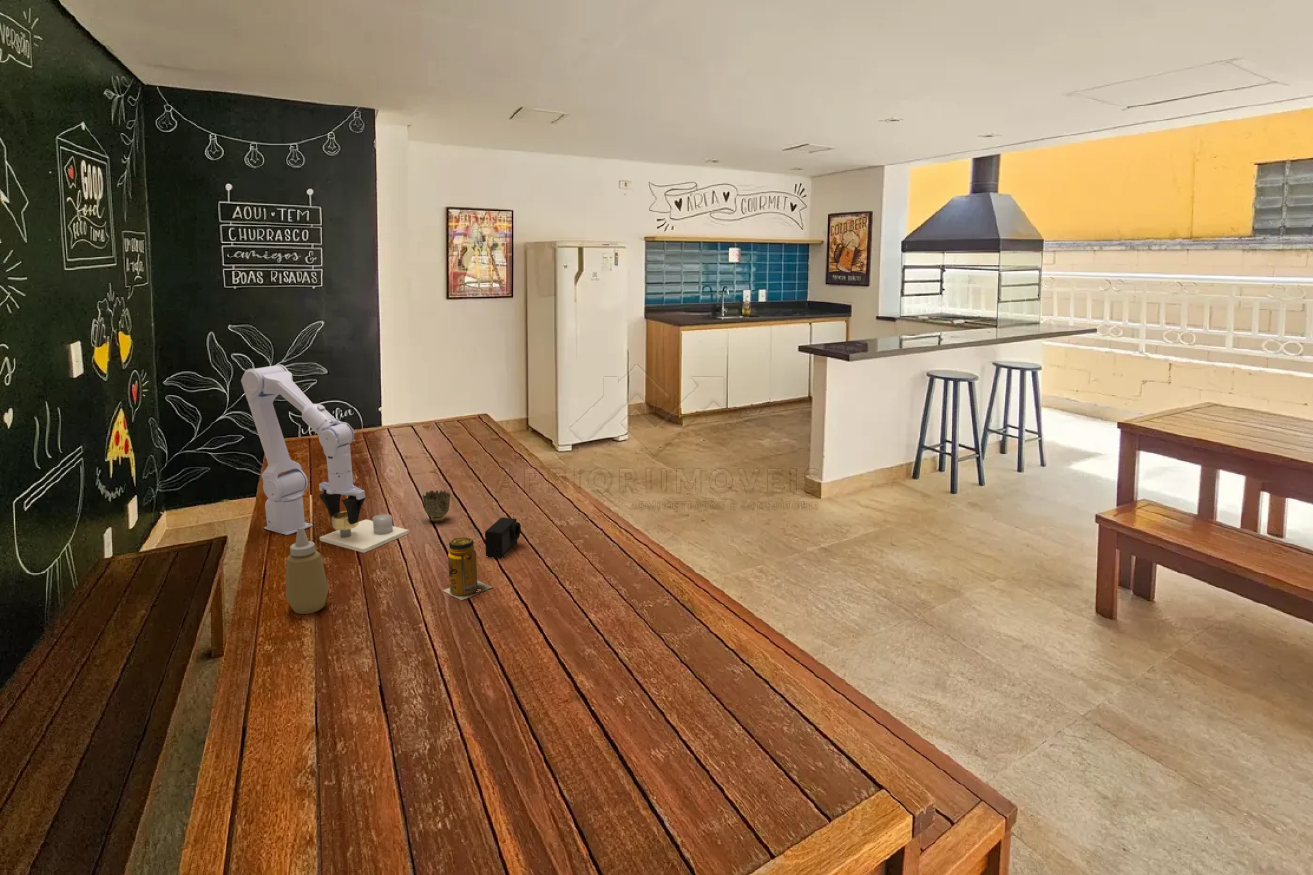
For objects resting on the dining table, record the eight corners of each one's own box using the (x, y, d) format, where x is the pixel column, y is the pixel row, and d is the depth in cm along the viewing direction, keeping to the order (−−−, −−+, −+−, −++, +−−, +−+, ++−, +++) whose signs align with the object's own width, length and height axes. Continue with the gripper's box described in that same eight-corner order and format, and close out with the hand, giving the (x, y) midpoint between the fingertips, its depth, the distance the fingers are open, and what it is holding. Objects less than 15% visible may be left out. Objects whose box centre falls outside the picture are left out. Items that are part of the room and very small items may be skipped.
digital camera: (506, 559, 178) (505, 533, 176) (485, 557, 179) (484, 531, 177) (521, 543, 188) (521, 518, 186) (502, 541, 189) (501, 516, 187)
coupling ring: (330, 524, 187) (329, 514, 186) (352, 519, 191) (352, 509, 190) (338, 531, 183) (337, 520, 182) (361, 526, 187) (360, 515, 186)
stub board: (319, 540, 186) (318, 522, 185) (366, 522, 199) (364, 505, 198) (363, 552, 179) (362, 534, 178) (408, 533, 192) (407, 515, 191)
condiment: (441, 591, 160) (439, 541, 157) (473, 578, 167) (471, 530, 164) (461, 601, 156) (458, 550, 153) (492, 588, 162) (490, 539, 159)
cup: (443, 526, 198) (442, 499, 196) (419, 524, 199) (417, 496, 197) (456, 517, 205) (454, 490, 203) (432, 515, 206) (430, 488, 204)
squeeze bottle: (316, 595, 157) (308, 518, 152) (337, 606, 152) (330, 527, 148) (280, 610, 150) (270, 529, 146) (301, 621, 146) (292, 539, 141)
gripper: (306, 470, 183) (312, 520, 186) (347, 479, 176) (351, 530, 180) (330, 463, 189) (334, 512, 192) (369, 471, 182) (373, 521, 186)
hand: (344, 520), depth 186 cm, fingers closed on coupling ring, 6 cm apart
